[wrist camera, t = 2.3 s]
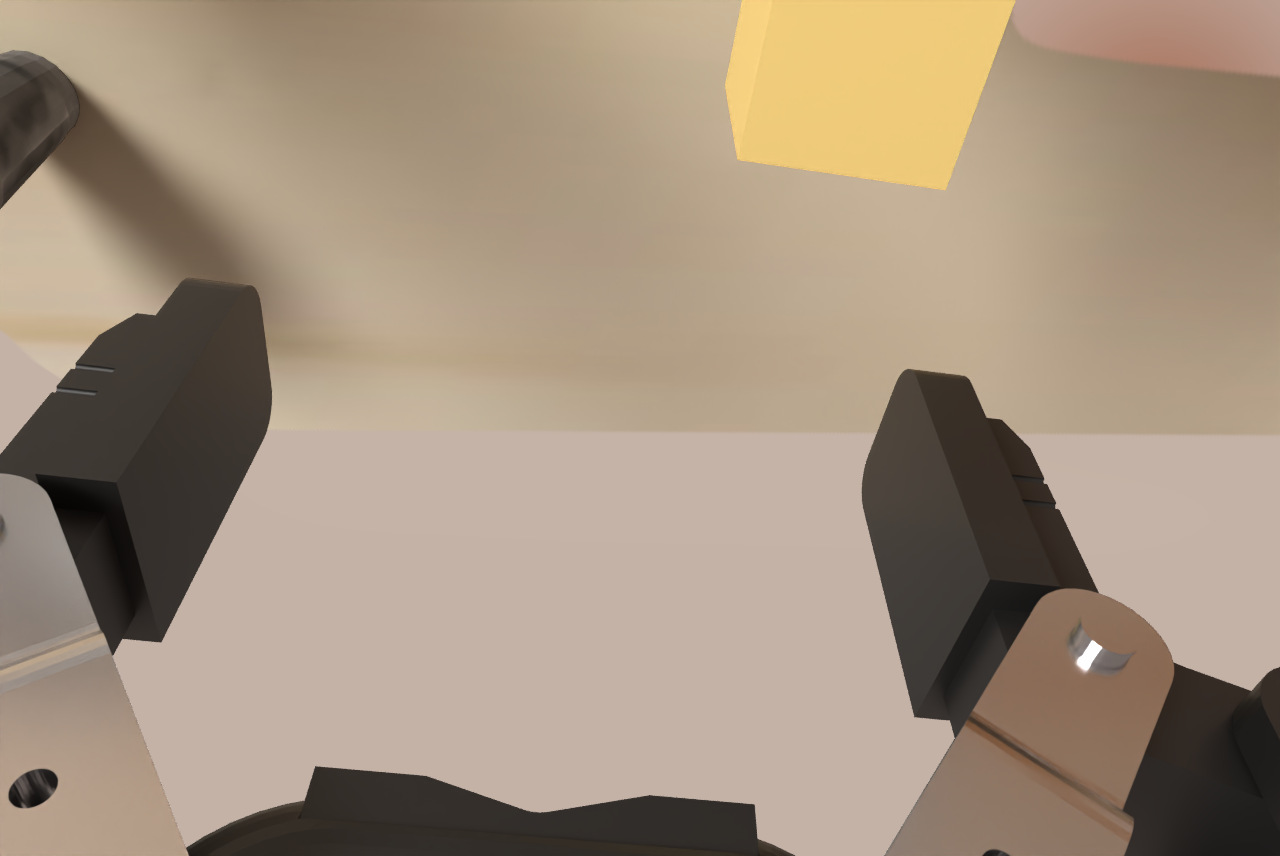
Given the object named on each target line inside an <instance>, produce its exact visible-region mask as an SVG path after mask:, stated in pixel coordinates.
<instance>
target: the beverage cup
mask: <svg viewBox="0 0 1280 856" xmlns="http://www.w3.org/2000/svg"><path fill="white" fill-rule="evenodd" d="M78 117H79V102H78V98H77V95H76V92H75V90H74V88H73V86H72V85H71V83H70V81H69V80H68V78H67V77H66V76H65V75H64V74H63V73H62V72H61V71H60V70H59V69H58V68H57V67H56V66H55V65H54V64H52V63H51V62H49V61H47V60H46V59H44V58H43V57H41V56H38V55H35V54H33V53H30V52H27V51H14V50H13V51H9V52H6V53H2V54H0V209H1V208H2V207H3V206H4V204H5V203H6V202H7V201H8V200H9V199H10V198H11V197H12V196H13V195H14V194H15V192H16V191H17V190H18V189H19V188H20V187H21V186H22V185H23V184H24V183H25V181H26V180H27V179H28V178H29V177H30V176H31V175H32V174H33V173H34V172H35V171H36V169H37V168H38V167H39V166H40V165H41V164H42V163H43V162H44V161H45V160H46V159H47V157H48V156H49V155H50V154H51V153H52V152H53V151H54V150H55V149H56V148H57V146H58V145H59V144H60V143H61V142H62V141H63V140H64V138H65V136H66V134H67V133H68V132H69V130H70V129H71V128H72V127H73V126H74V125H75V123H76V121H77V119H78Z"/></svg>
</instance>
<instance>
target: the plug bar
mask: <svg viewBox="0 0 1280 856" xmlns="http://www.w3.org/2000/svg"><path fill="white" fill-rule="evenodd" d="M1015 1H1016V0H742V4H741V9H740V14H739V19H738V24H737V29H736V34H735V39H734V44H733V49H732V54H731V59H730V64H729V69H728V74H727V79H726V84H725V89H726V95H727V101H728V107H729V113H730V118H731V124H732V130H733V136H734V142H735V148H736V154H737V159H738V160H742V161H749V162H755V163H762V164H769V165H776V166H783V167H790V168H797V169H803V170H810V171H817V172H824V173H831V174H838V175H845V176H851V177H858V178H865V179H872V180H879V181H886V182H893V183H900V184H906V185H913V186H920V187H927V188H934V189H941V190H946V188H947V185H948V182H949V180H950V177H951V174H952V172H953V169H954V166H955V163H956V161H957V158H958V155H959V153H960V150H961V147H962V144H963V142H964V139H965V136H966V134H967V131H968V128H969V126H970V123H971V120H972V117H973V115H974V112H975V109H976V107H977V104H978V101H979V98H980V96H981V93H982V90H983V88H984V85H985V82H986V80H987V77H988V74H989V71H990V69H991V66H992V63H993V61H994V58H995V55H996V52H997V50H998V47H999V44H1000V42H1001V39H1002V36H1003V34H1004V31H1005V28H1006V25H1007V23H1008V20H1009V17H1010V15H1011V12H1012V9H1013V6H1014V4H1015Z"/></svg>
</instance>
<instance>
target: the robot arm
mask: <svg viewBox="0 0 1280 856" xmlns="http://www.w3.org/2000/svg"><path fill="white" fill-rule="evenodd" d="M271 406H272V388H271V380H270V372H269V364H268V356H267V349H266V341H265V333H264V326H263V318H262V310H261V303H260V298H259V295H258V293H257V291H256V289H255V288H254V287H253V286H250V285H242V284H234V283H226V282H218V281H210V280H202V279H194V278H187V279H185V280H183V281H182V282H181V283H180V284H179V286H178V287H177V288H176V290H175V291H174V292H173V294H172V295H171V296H170V297H169V299H168V300H167V301H166V303H165V304H164V305H163V307H162V308H161V309H160V311H159V312H158V313H157V315H156V316H155V315H147V314H138V313H137V314H135V315H133V316H131V317H130V318H128V319H126V320H124V321H123V322H121V323H119V324H118V325H116V326H114V327H112V328H111V329H109V330H107V331H105V332H104V333H102V334H100V335H99V336H98V337H97V338H96V339H95V340H94V342H93V343H92V344H91V345H90V347H89V348H88V349H87V350H86V351H85V353H84V354H83V355H82V356H81V357H80V359H79V360H78V361H77V362H76V368H75V369H71V370H70V371H69V372H68V373H67V374H66V376H65V377H64V378H63V379H62V380H61V382H60V383H59V384H58V385H57V391H56V393H53V392H52V393H51V394H50V395H49V396H48V397H47V399H46V400H45V401H44V402H43V403H42V405H41V406H40V407H39V408H38V409H37V411H36V412H35V413H34V414H33V416H32V417H31V418H30V419H29V420H28V422H27V423H26V424H25V425H24V426H23V428H22V429H21V430H20V431H19V432H18V434H17V435H16V436H15V437H14V439H13V440H12V441H11V442H10V443H9V445H8V446H7V447H6V449H5V450H4V451H3V452H2V453H1V454H0V856H795V855H793V854H791V853H789V852H786V851H784V850H783V849H781V848H778V847H776V846H774V845H772V844H769V843H767V842H764V841H761V840H759V839H757V829H756V817H755V805H754V804H743V803H732V802H720V801H708V800H696V799H685V798H673V797H662V796H651V795H649V796H643V797H637V798H631V799H624V800H618V801H612V802H606V803H600V804H594V805H588V806H582V807H576V808H570V809H564V810H558V811H551V812H544V813H543V812H542V813H538V812H530V811H526V810H523V809H519V808H517V807H514V806H511V805H508V804H505V803H502V802H500V801H497V800H493V799H491V798H488V797H485V796H482V795H479V794H477V793H474V792H471V791H468V790H465V789H462V788H459V787H456V786H453V785H450V784H448V783H445V782H442V781H439V780H436V779H433V778H430V777H427V776H420V775H409V774H397V773H386V772H373V771H362V770H351V769H339V768H328V767H316V766H315V769H314V773H313V776H312V779H311V782H310V785H309V789H308V792H307V795H306V798H305V801H300V802H295V803H289V804H285V805H281V806H278V807H274V808H270V809H267V810H264V811H260V812H257V813H255V814H252V815H249V816H247V817H244V818H242V819H239V820H237V821H234V822H232V823H229V824H228V825H226V826H224V827H222V828H220V829H218V830H216V831H214V832H212V833H210V834H208V835H206V836H204V837H203V838H201V839H199V840H198V841H196V842H195V843H193V844H192V845H190V846H188V847H187V848H186V847H185V844H184V842H183V839H182V836H181V834H180V831H179V829H178V826H177V823H176V821H175V818H174V816H173V813H172V810H171V808H170V805H169V802H168V800H167V797H166V795H165V792H164V789H163V787H162V784H161V782H160V779H159V776H158V774H157V771H156V769H155V766H154V764H153V761H152V758H151V755H150V753H149V750H148V748H147V745H146V742H145V740H144V737H143V735H142V732H141V729H140V727H139V724H138V722H137V719H136V717H135V714H134V711H133V709H132V706H131V703H130V701H129V698H128V695H127V693H126V690H125V688H124V685H123V683H122V680H121V678H120V675H119V672H118V670H117V668H116V664H115V662H114V659H113V655H114V653H115V651H116V649H117V647H118V645H119V644H120V642H121V640H122V639H130V640H131V639H132V640H141V641H152V642H162V640H163V638H164V636H165V634H166V632H167V630H168V628H169V626H170V624H171V622H172V620H173V618H174V616H175V614H176V612H177V610H178V608H179V606H180V604H181V602H182V600H183V598H184V596H185V594H186V592H187V590H188V588H189V586H190V584H191V582H192V580H193V578H194V576H195V574H196V572H197V570H198V568H199V566H200V564H201V562H202V560H203V558H204V556H205V554H206V552H207V550H208V548H209V546H210V544H211V542H212V540H213V539H214V537H215V535H216V533H217V531H218V529H219V527H220V525H221V523H222V521H223V519H224V517H225V515H226V513H227V511H228V509H229V507H230V505H231V503H232V501H233V499H234V497H235V495H236V493H237V491H238V489H239V487H240V485H241V483H242V481H243V479H244V477H245V475H246V473H247V471H248V469H249V467H250V465H251V463H252V461H253V459H254V457H255V455H256V453H257V451H258V449H259V447H260V445H261V443H262V441H263V439H264V437H265V434H266V432H267V428H268V425H269V420H270V414H271ZM1043 481H1044V477H1043V475H1042V472H1041V471H1040V468H1039V466H1038V464H1037V462H1036V460H1035V458H1034V456H1033V453H1032V452H1031V449H1030V448H1029V447H1028V446H1027V445H1026V444H1025V443H1024V442H1023V441H1022V440H1021V439H1020V438H1019V437H1018V436H1017V435H1016V434H1015V433H1014V432H1013V431H1012V430H1011V429H1010V428H1009V427H1008V426H1007V425H1006V424H1005V423H1004V422H1003V421H1002V420H1000V419H992V418H986V416H985V413H984V411H983V409H982V407H981V404H980V402H979V400H978V397H977V395H976V393H975V391H974V388H973V386H972V384H971V382H970V380H969V379H968V378H967V377H965V376H961V375H953V374H945V373H937V372H929V371H921V370H913V369H907V370H905V371H904V372H903V373H902V374H901V375H900V377H899V378H898V380H897V382H896V385H895V387H894V390H893V393H892V395H891V398H890V400H889V403H888V406H887V408H886V411H885V413H884V416H883V419H882V421H881V424H880V427H879V429H878V432H877V434H876V437H875V440H874V442H873V445H872V447H871V450H870V453H869V455H868V458H867V461H866V464H865V468H864V474H863V481H862V503H863V509H864V513H865V517H866V521H867V525H868V529H869V534H870V537H871V542H872V546H873V550H874V554H875V558H876V562H877V566H878V570H879V574H880V578H881V583H882V587H883V591H884V595H885V599H886V603H887V607H888V611H889V615H890V619H891V623H892V627H893V631H894V636H895V640H896V643H897V648H898V652H899V656H900V660H901V664H902V668H903V672H904V676H905V680H906V684H907V689H908V693H909V696H910V701H911V705H912V709H913V713H914V717H919V718H929V719H939V720H950V722H951V725H952V730H953V733H954V737H955V739H954V741H953V743H952V744H951V746H950V747H949V749H948V751H947V752H946V754H945V756H944V757H943V759H942V761H941V763H940V764H939V766H938V767H937V769H936V771H935V772H934V774H933V776H932V777H931V779H930V781H929V782H928V784H927V786H926V788H925V789H924V791H923V792H922V794H921V796H920V797H919V799H918V801H917V802H916V804H915V806H914V807H913V809H912V811H911V812H910V814H909V816H908V817H907V819H906V821H905V822H904V824H903V826H902V827H901V829H900V831H899V832H898V834H897V835H896V837H895V839H894V840H893V842H892V844H891V846H890V847H889V849H888V850H887V852H886V854H885V855H884V856H1280V667H1279V668H1276V669H1273V670H1272V671H1270V672H1269V673H1268V674H1267V675H1266V676H1265V677H1264V678H1263V679H1262V680H1261V681H1260V682H1259V683H1258V684H1257V685H1256V687H1255V688H1254V689H1253V690H1252V691H1249V690H1247V689H1244V688H1241V687H1239V686H1236V685H1233V684H1230V683H1227V682H1225V681H1222V680H1219V679H1216V678H1214V677H1211V676H1208V675H1205V674H1202V673H1200V672H1197V671H1194V670H1191V669H1188V668H1186V667H1183V666H1181V665H1178V664H1176V663H1173V660H1172V656H1171V653H1170V651H1169V649H1168V647H1167V645H1166V644H1165V642H1164V641H1163V639H1162V638H1161V636H1160V635H1159V634H1158V633H1157V631H1156V630H1155V629H1154V628H1153V627H1152V626H1151V625H1150V624H1149V623H1148V622H1147V621H1146V620H1145V619H1144V618H1142V617H1141V616H1140V615H1138V614H1137V613H1136V612H1135V611H1133V610H1132V609H1130V608H1128V607H1127V606H1125V605H1124V604H1122V603H1120V602H1118V601H1116V600H1114V599H1112V598H1110V597H1107V596H1105V595H1102V594H1099V592H1098V590H1097V588H1096V586H1095V584H1094V582H1093V580H1092V578H1091V576H1090V574H1089V571H1088V569H1087V567H1086V565H1085V563H1084V561H1083V559H1082V557H1081V554H1080V553H1079V550H1078V548H1077V546H1076V544H1075V542H1074V540H1073V538H1072V536H1071V533H1070V531H1069V529H1068V527H1067V525H1066V523H1065V521H1064V519H1063V517H1062V514H1061V512H1060V510H1058V509H1055V504H1056V502H1055V500H1054V498H1053V496H1052V494H1051V491H1050V490H1049V487H1048V485H1047V484H1044V483H1043Z"/></svg>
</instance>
